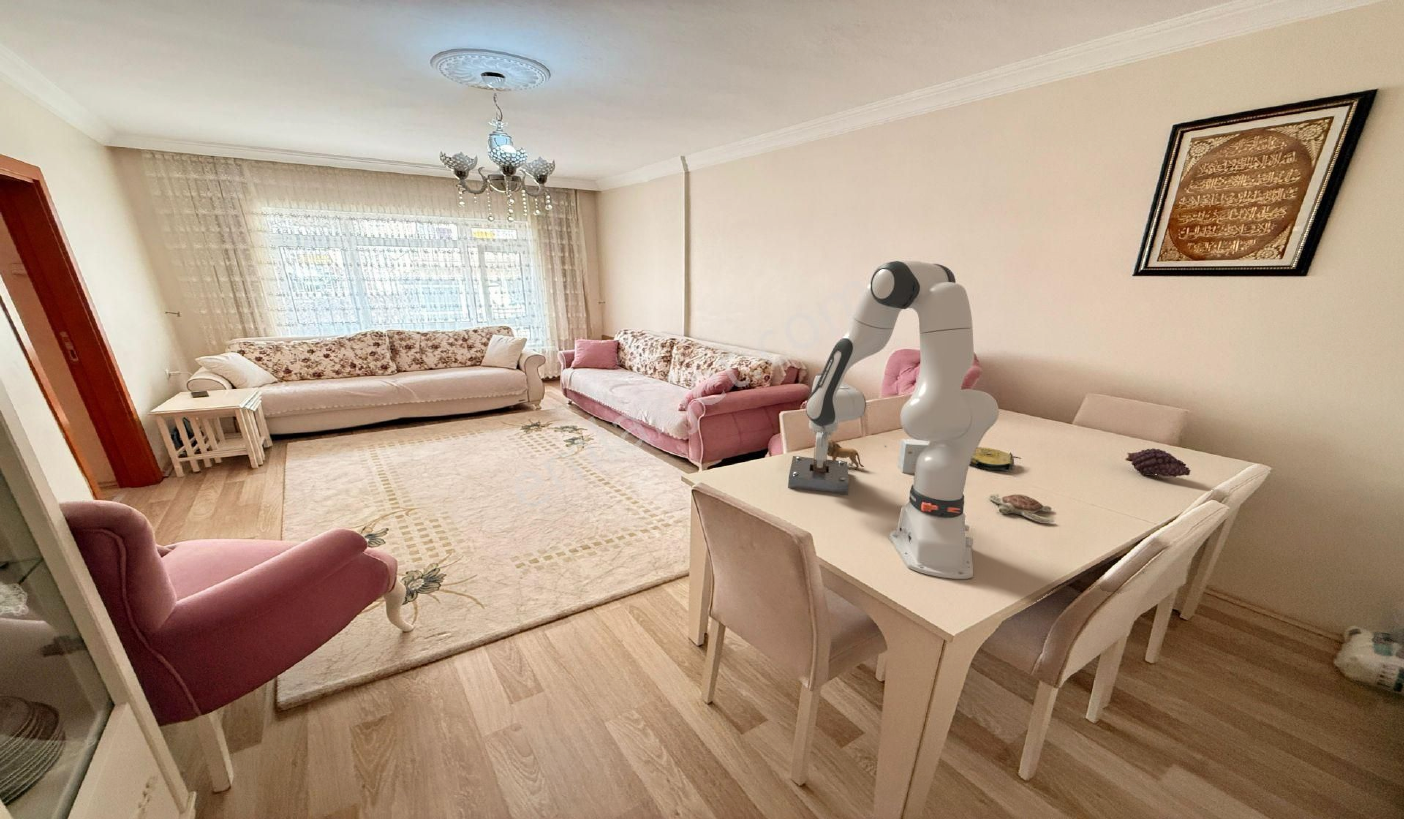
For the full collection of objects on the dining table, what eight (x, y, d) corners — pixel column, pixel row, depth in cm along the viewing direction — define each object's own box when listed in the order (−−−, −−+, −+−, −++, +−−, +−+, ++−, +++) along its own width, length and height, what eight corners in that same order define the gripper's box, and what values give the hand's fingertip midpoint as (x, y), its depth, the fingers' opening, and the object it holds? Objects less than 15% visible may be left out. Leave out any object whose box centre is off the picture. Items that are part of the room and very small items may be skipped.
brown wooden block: (824, 479, 158) (827, 449, 155) (812, 477, 159) (814, 448, 156) (825, 474, 161) (827, 445, 159) (812, 472, 162) (815, 444, 160)
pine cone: (1191, 484, 164) (1200, 455, 161) (1177, 489, 160) (1186, 460, 157) (1128, 465, 179) (1135, 439, 176) (1114, 469, 175) (1121, 443, 172)
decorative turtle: (971, 502, 148) (974, 487, 147) (1010, 494, 154) (1013, 479, 152) (1029, 531, 132) (1032, 514, 130) (1070, 521, 137) (1074, 505, 136)
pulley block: (932, 432, 192) (1023, 449, 175) (930, 445, 194) (1020, 463, 177) (923, 446, 181) (1018, 466, 165) (921, 460, 184) (1015, 481, 167)
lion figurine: (819, 465, 173) (822, 441, 170) (820, 460, 178) (823, 436, 175) (863, 471, 169) (866, 446, 166) (863, 465, 174) (866, 441, 171)
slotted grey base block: (847, 495, 150) (849, 481, 149) (787, 487, 154) (788, 474, 153) (846, 472, 167) (847, 460, 166) (792, 466, 171) (793, 454, 170)
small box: (920, 468, 172) (925, 439, 170) (926, 474, 167) (930, 445, 164) (897, 466, 173) (901, 438, 170) (901, 473, 168) (905, 443, 165)
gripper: (834, 433, 145) (829, 477, 148) (833, 415, 164) (829, 454, 168) (812, 431, 146) (808, 475, 150) (814, 413, 165) (811, 452, 169)
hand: (819, 464), depth 159 cm, fingers closed on brown wooden block, 4 cm apart
